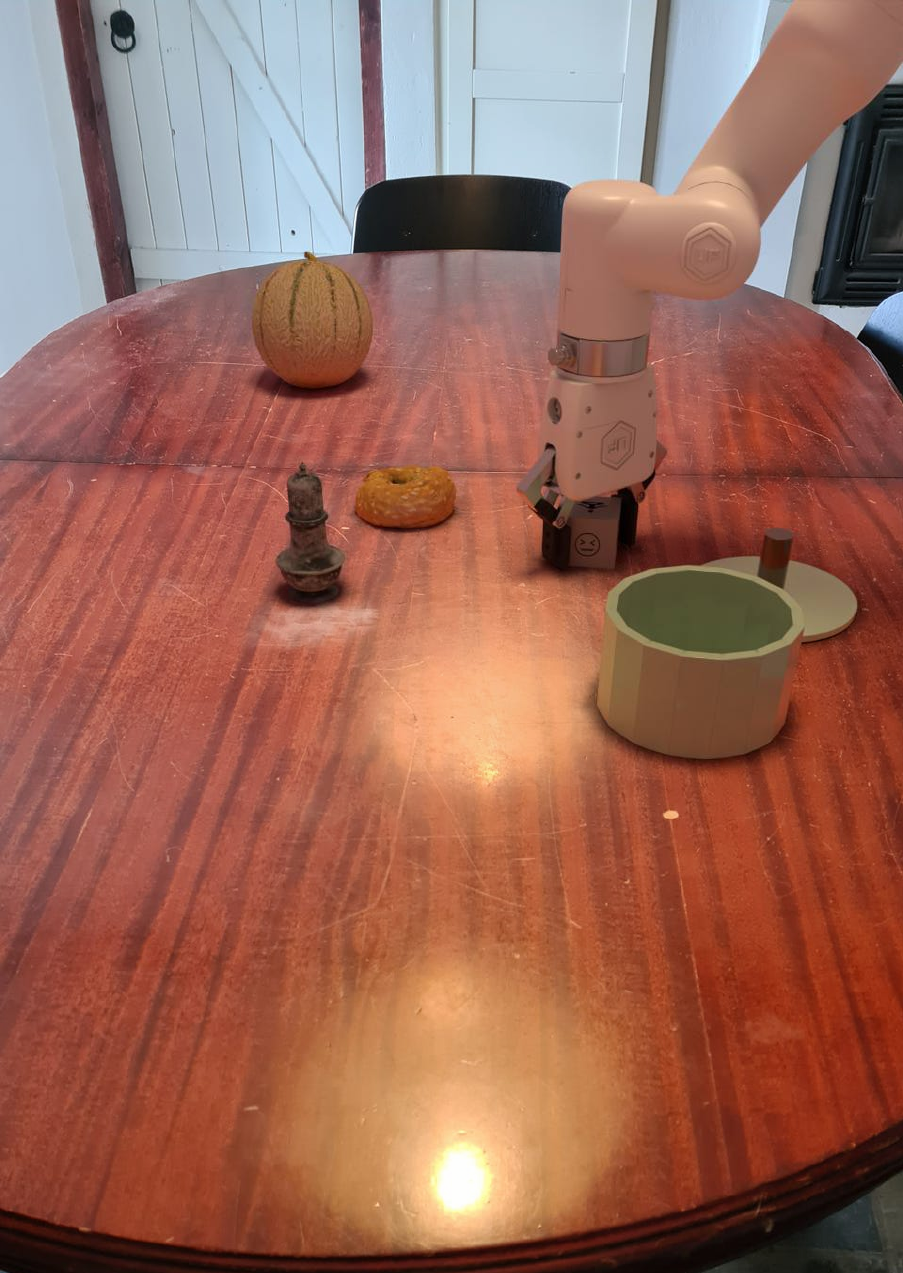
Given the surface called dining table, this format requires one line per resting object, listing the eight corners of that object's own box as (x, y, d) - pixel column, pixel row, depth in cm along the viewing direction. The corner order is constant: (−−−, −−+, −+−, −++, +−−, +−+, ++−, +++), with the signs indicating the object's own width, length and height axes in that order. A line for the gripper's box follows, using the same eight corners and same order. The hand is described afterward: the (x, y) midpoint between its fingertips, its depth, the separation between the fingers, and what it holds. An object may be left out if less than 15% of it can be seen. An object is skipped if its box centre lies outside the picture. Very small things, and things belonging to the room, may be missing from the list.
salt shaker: (302, 575, 104) (290, 444, 97) (359, 588, 102) (352, 455, 95) (266, 603, 100) (251, 468, 93) (325, 617, 98) (314, 481, 90)
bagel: (445, 488, 120) (445, 443, 117) (465, 533, 111) (465, 485, 108) (349, 495, 118) (347, 449, 115) (361, 541, 110) (359, 492, 107)
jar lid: (762, 554, 107) (774, 484, 103) (891, 616, 98) (910, 543, 94) (644, 596, 101) (652, 524, 97) (770, 668, 91) (785, 591, 87)
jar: (691, 647, 94) (705, 549, 89) (822, 723, 85) (845, 620, 80) (560, 698, 88) (566, 597, 83) (686, 787, 79) (702, 680, 74)
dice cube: (617, 549, 108) (621, 497, 105) (613, 573, 104) (617, 520, 101) (563, 545, 109) (566, 494, 106) (558, 569, 105) (560, 516, 102)
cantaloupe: (278, 412, 138) (266, 277, 129) (244, 376, 148) (230, 249, 139) (394, 395, 143) (389, 264, 133) (352, 362, 153) (346, 238, 144)
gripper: (547, 384, 89) (539, 593, 100) (711, 344, 97) (687, 542, 107) (489, 360, 94) (487, 561, 105) (650, 323, 101) (632, 515, 112)
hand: (588, 550), depth 106 cm, fingers closed on dice cube, 7 cm apart
